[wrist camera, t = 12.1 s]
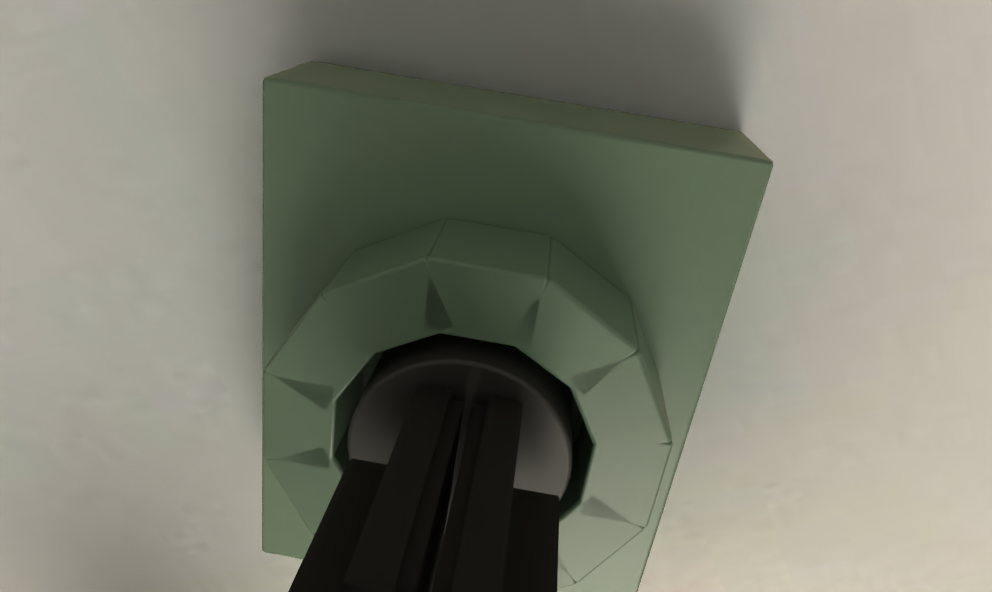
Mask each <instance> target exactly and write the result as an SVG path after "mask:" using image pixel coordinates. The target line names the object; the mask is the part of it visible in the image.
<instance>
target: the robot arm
mask: <svg viewBox="0 0 992 592" xmlns="http://www.w3.org/2000/svg"><path fill="white" fill-rule="evenodd" d="M463 405H464V402H461V401H455V400H452V390H446V389H440V388H435V387H429V386H424V385H418V386H417V388H416V390H415V393H414V395H413V398H412V401H411V403H410V406H409V409H408V411H407V414H406V417H405V419H404V422H403V425H402V427H401V430H400V432H399V435H398V438H397V440H396V443H395V446H394V448H393V451H392V454H391V456H390V459H389V462H388V464H387V465H386V464H381V463H375V462H370V461H364V460H359V459H353V458H352V459H351V460H350V461H349V462H348V464H347V466H346V468H345V470H344V472H343V474H342V477H341V479H340V481H339V483H338V485H337V487H336V490H335V492H334V494H333V496H332V498H331V500H330V503H329V505H328V507H327V509H326V511H325V514H324V516H323V518H322V520H321V522H320V524H319V527H318V529H317V531H316V533H315V535H314V537H313V540H312V542H311V544H310V546H309V548H308V550H307V553H306V555H305V557H304V559H303V561H302V563H301V566H300V568H299V570H298V572H297V574H296V576H295V579H294V581H293V583H292V585H291V587H290V590H289V592H557V581H558V543H559V496H557V495H551V494H546V493H540V492H535V491H529V490H524V489H518V488H513V487H514V478H515V469H516V461H517V452H518V444H519V435H520V426H521V418H522V409H523V403H519V402H513V401H508V400H502V399H497V398H491V397H489V402H488V406H483V405H478V404H474V407H473V412H472V416H471V420H470V425H469V429H468V433H467V438H466V442H465V446H464V451H463V455H462V460H461V464H460V468H459V473H458V477H457V481H456V486H455V490H454V494H453V499H452V503H451V507H450V512H449V516H448V520H447V513H448V507H449V500H450V493H451V487H452V480H453V473H454V466H455V460H456V453H457V446H458V439H459V433H460V426H461V419H462V413H463ZM446 520H447V525H446ZM445 527H446V529H445Z"/></svg>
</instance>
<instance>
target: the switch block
mask: <svg viewBox="0 0 992 592" xmlns="http://www.w3.org/2000/svg"><path fill="white" fill-rule="evenodd" d="M772 168H773V162H772V161H771V160H770V159H769V158H768V157H767V156H766V155H765V154H764V153H763V152H762V151H761V150H760V149H759V148H758V147H757V146H756V145H755V144H754V143H753V142H752V141H751V140H750V139H749V138H748V137H746V136H745V135H744V134H743V133H742V132H738V131H732V130H726V129H720V128H714V127H708V126H702V125H696V124H690V123H684V122H678V121H672V120H666V119H660V118H653V117H647V116H641V115H635V114H629V113H623V112H617V111H611V110H605V109H599V108H593V107H587V106H581V105H575V104H569V103H562V102H556V101H550V100H544V99H538V98H532V97H526V96H520V95H514V94H508V93H502V92H496V91H490V90H484V89H477V88H471V87H465V86H459V85H453V84H447V83H441V82H435V81H429V80H423V79H417V78H411V77H405V76H399V75H392V74H386V73H380V72H374V71H368V70H362V69H356V68H350V67H344V66H338V65H332V64H326V63H320V62H314V61H310V62H307V63H304V64H302V65H299V66H296V67H293V68H290V69H287V70H285V71H282V72H279V73H276V74H273V75H271V76H268V77H265V78H264V80H263V439H262V550H263V551H264V552H267V553H272V554H278V555H283V556H288V557H294V558H299V559H304V557H305V555H306V553H307V550H308V548H309V546H310V544H311V542H312V540H313V537H314V535H315V533H316V531H317V529H318V527H319V524H320V522H321V520H322V518H323V516H324V514H325V511H326V509H327V507H328V505H329V503H330V500H331V498H332V496H333V494H334V492H335V490H336V487H337V485H338V483H339V481H340V479H341V477H342V474H343V472H344V470H345V468H346V466H347V464H348V462H349V461H350V458H349V453H348V431H349V424H350V421H351V418H352V415H353V412H354V410H355V408H356V406H357V404H358V402H359V400H360V398H361V396H362V394H363V392H364V390H365V388H366V386H367V384H368V382H369V380H370V378H371V376H372V374H373V372H374V370H375V368H376V366H377V364H378V362H379V360H380V358H381V356H382V354H383V352H384V351H385V350H388V349H391V348H395V347H398V346H401V345H404V344H407V343H410V342H414V341H417V340H420V339H423V338H426V337H429V336H432V335H436V334H439V333H441V334H447V335H453V336H458V337H464V338H470V339H476V340H481V341H487V342H493V343H498V344H504V345H510V346H515V347H516V348H518V349H519V350H520V351H522V352H523V353H524V354H526V355H527V356H528V357H530V358H531V359H532V360H534V361H535V362H536V363H538V364H539V365H540V366H542V367H543V368H544V369H546V370H547V371H548V372H550V373H551V374H552V375H554V376H555V377H556V378H558V379H559V380H561V381H562V382H563V383H565V384H566V385H567V386H569V387H570V389H571V392H572V470H571V477H570V480H569V483H568V486H567V488H566V490H565V492H564V494H563V496H562V498H561V500H560V501H559V543H558V581H557V592H637V591H638V588H639V585H640V582H641V578H642V575H643V572H644V569H645V566H646V563H647V560H648V557H649V553H650V550H651V547H652V544H653V541H654V538H655V535H656V531H657V528H658V525H659V522H660V519H661V516H662V513H663V509H664V506H665V503H666V500H667V497H668V494H669V491H670V488H671V484H672V481H673V478H674V475H675V472H676V469H677V466H678V462H679V459H680V456H681V453H682V450H683V447H684V444H685V440H686V437H687V434H688V431H689V428H690V425H691V422H692V419H693V415H694V412H695V409H696V406H697V403H698V400H699V397H700V393H701V390H702V387H703V384H704V381H705V378H706V375H707V371H708V368H709V365H710V362H711V359H712V356H713V353H714V349H715V346H716V343H717V340H718V337H719V334H720V331H721V328H722V324H723V321H724V318H725V315H726V312H727V309H728V306H729V302H730V299H731V296H732V293H733V290H734V287H735V284H736V280H737V277H738V274H739V271H740V268H741V265H742V262H743V259H744V255H745V252H746V249H747V246H748V243H749V240H750V237H751V233H752V230H753V227H754V224H755V221H756V218H757V215H758V211H759V208H760V205H761V202H762V199H763V196H764V193H765V189H766V186H767V183H768V180H769V177H770V174H771V171H772Z"/></svg>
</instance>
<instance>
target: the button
mask: <svg viewBox="0 0 992 592" xmlns="http://www.w3.org/2000/svg"><path fill="white" fill-rule="evenodd" d="M418 385H424V386H429V387H435V388H440V389H446V390H452V400H455V401H461V402H464V405H463V413H462V419H461V426H460V433H459V439H458V446H457V453H456V460H455V466H454V473H453V480H452V487H451V493H450V500H449V507H448V513H447V520H448V516H449V512H450V507H451V503H452V499H453V494H454V490H455V486H456V481H457V477H458V473H459V468H460V464H461V460H462V455H463V451H464V446H465V442H466V438H467V433H468V429H469V425H470V420H471V416H472V412H473V407H474V404H478V405H483V406H488V402H489V397H491V398H497V399H502V400H508V401H513V402H519V403H523V409H522V418H521V426H520V435H519V444H518V452H517V461H516V469H515V478H514V487H513V488H518V489H524V490H529V491H535V492H540V493H546V494H551V495H557V496H559V501H560V500H561V498H562V496H563V494H564V492H565V490H566V488H567V486H568V483H569V480H570V477H571V470H572V392H571V389H570V387H569V386H567V385H566V384H565V383H563V382H562V381H561V380H559V379H558V378H556V377H555V376H554V375H552V374H551V373H550V372H548V371H547V370H546V369H544V368H543V367H542V366H540V365H539V364H538V363H536V362H535V361H534V360H532V359H531V358H530V357H528V356H527V355H526V354H524V353H523V352H522V351H520V350H519V349H518V348H516V347H515V346H510V345H504V344H498V343H493V342H487V341H481V340H476V339H470V338H464V337H458V336H453V335H447V334H441V333H439V334H436V335H432V336H429V337H426V338H423V339H420V340H417V341H414V342H410V343H407V344H404V345H401V346H398V347H395V348H391V349H388V350H385V351H384V352H383V354H382V356H381V358H380V360H379V362H378V364H377V366H376V368H375V370H374V372H373V374H372V376H371V378H370V380H369V382H368V384H367V386H366V388H365V390H364V392H363V394H362V396H361V398H360V400H359V402H358V404H357V406H356V408H355V410H354V412H353V415H352V418H351V421H350V424H349V431H348V453H349V458H350V460H351V459H352V458H353V459H359V460H364V461H370V462H375V463H381V464H386V465H387V464H388V462H389V459H390V456H391V454H392V451H393V448H394V446H395V443H396V440H397V438H398V435H399V432H400V430H401V427H402V425H403V422H404V419H405V417H406V414H407V411H408V409H409V406H410V403H411V401H412V398H413V395H414V393H415V390H416V388H417V386H418ZM447 520H446V525H447ZM445 529H446V527H445Z"/></svg>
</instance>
